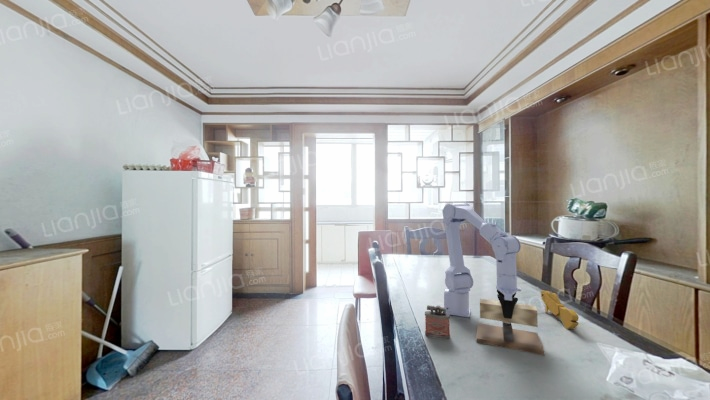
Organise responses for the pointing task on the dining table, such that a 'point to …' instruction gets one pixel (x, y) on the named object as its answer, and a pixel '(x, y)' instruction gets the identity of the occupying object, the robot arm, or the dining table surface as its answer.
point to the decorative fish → (559, 310)
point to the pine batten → (520, 315)
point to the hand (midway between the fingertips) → (507, 315)
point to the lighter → (437, 322)
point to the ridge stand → (509, 338)
